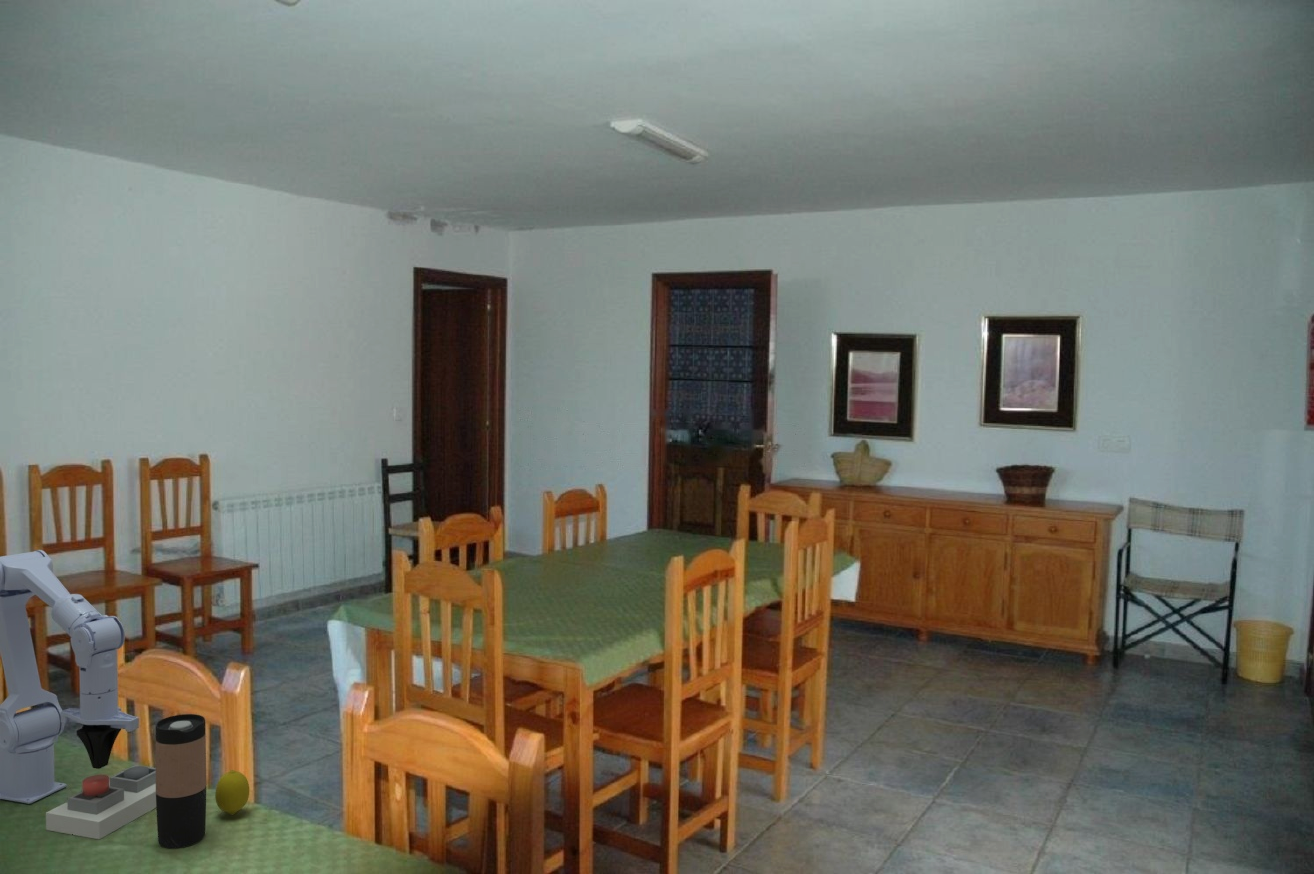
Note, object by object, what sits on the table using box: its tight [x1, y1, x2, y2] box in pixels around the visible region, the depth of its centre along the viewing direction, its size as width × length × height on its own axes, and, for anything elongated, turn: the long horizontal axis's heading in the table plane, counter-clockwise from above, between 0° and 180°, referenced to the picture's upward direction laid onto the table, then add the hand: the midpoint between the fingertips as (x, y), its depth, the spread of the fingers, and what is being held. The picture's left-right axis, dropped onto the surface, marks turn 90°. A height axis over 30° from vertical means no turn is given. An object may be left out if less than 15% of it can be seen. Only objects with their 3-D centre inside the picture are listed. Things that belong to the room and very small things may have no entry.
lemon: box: [214, 769, 250, 815], centre depth 175 cm, size 6×6×8 cm
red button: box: [81, 774, 110, 796], centre depth 171 cm, size 4×4×2 cm
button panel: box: [45, 764, 156, 840], centre depth 175 cm, size 11×19×5 cm, turn 165°
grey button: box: [123, 765, 149, 780], centre depth 180 cm, size 4×4×2 cm
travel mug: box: [155, 713, 208, 849], centre depth 165 cm, size 8×8×20 cm
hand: (100, 766), depth 171 cm, fingers closed
